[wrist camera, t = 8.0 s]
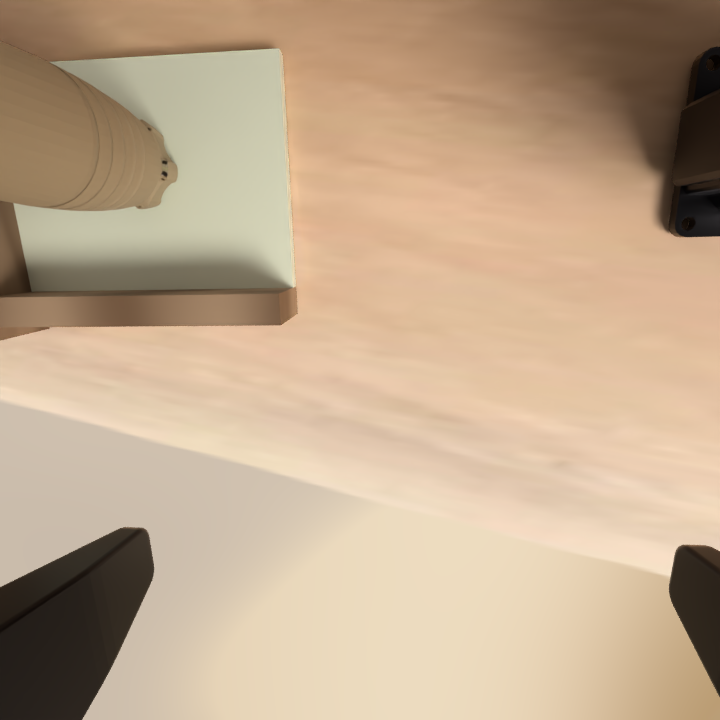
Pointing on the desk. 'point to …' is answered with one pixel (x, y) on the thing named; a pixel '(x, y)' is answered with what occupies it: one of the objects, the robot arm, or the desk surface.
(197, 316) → the walls
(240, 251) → the pad
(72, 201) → the handle
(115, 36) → the desk surface
